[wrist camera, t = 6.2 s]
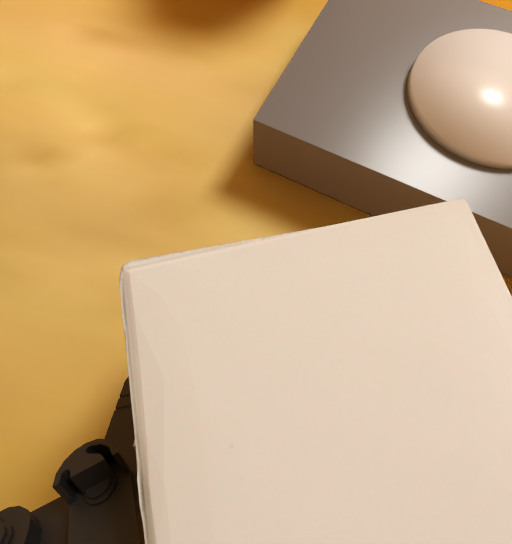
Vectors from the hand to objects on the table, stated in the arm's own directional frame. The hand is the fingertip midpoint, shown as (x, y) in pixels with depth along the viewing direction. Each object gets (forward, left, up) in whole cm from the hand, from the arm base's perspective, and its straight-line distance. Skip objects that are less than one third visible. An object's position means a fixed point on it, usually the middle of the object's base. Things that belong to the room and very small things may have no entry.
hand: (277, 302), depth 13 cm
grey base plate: (+6, +17, -5) cm, 19 cm away
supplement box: (+2, -3, -5) cm, 6 cm away
